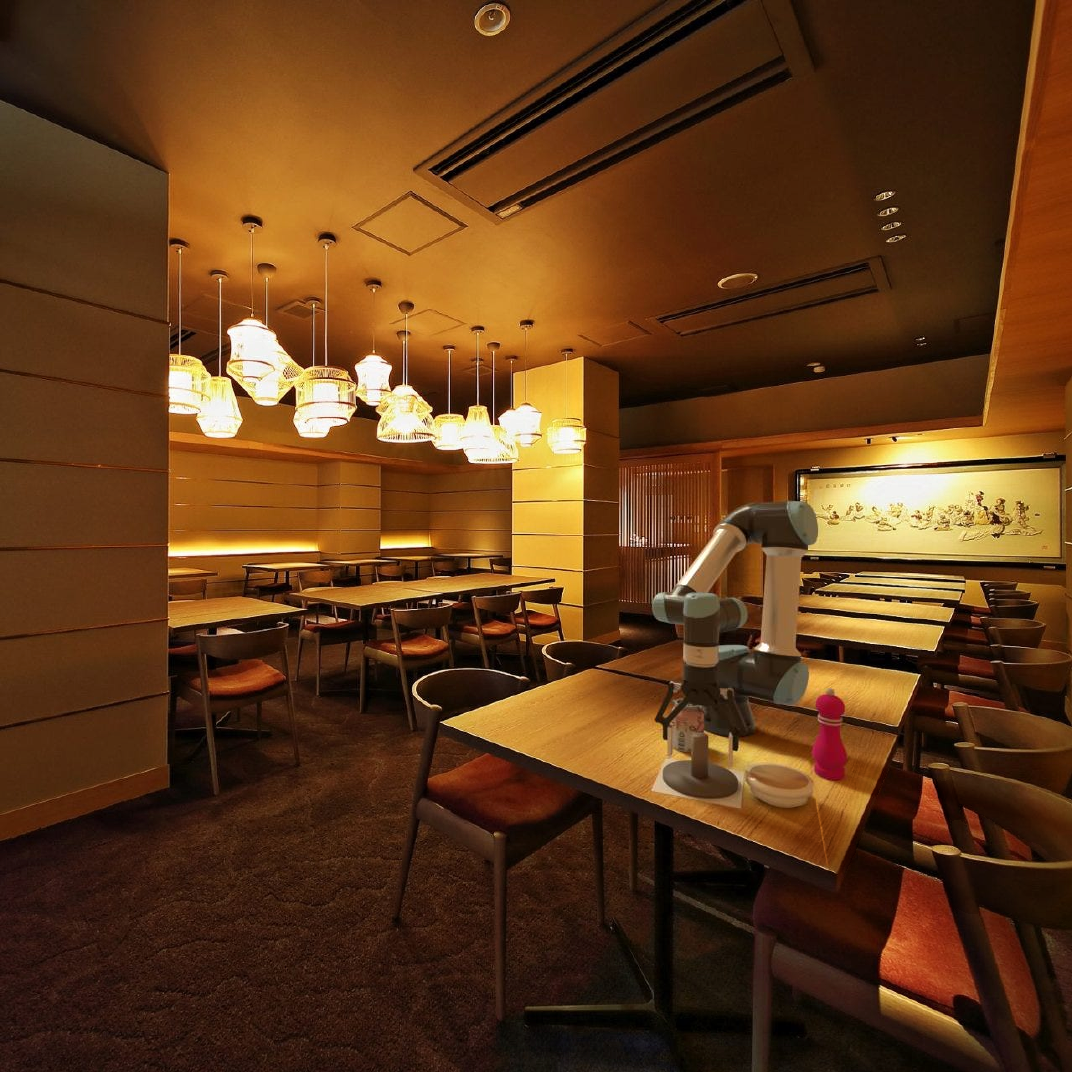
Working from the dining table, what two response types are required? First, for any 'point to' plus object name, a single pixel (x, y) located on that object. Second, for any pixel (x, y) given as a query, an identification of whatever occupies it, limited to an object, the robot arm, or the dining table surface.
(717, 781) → the lid
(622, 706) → the dining table surface
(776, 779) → the bowl
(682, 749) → the beverage can
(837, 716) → the pepper mill
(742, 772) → the mat
